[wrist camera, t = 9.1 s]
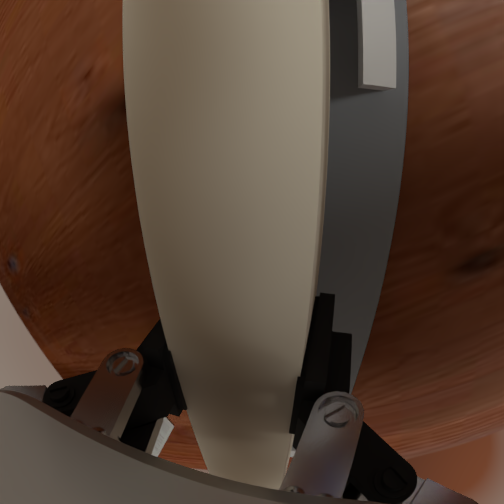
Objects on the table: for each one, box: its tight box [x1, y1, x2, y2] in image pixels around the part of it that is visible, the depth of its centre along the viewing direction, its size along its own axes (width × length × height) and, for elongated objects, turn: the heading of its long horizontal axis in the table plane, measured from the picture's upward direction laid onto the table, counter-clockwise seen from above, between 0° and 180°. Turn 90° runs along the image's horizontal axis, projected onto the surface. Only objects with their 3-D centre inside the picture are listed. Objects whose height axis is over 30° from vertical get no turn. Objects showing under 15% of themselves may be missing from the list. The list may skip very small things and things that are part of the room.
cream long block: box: [123, 0, 330, 490], centre depth 10 cm, size 4×22×4 cm, turn 0°
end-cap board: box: [290, 0, 409, 457], centre depth 14 cm, size 9×27×4 cm, turn 1°
